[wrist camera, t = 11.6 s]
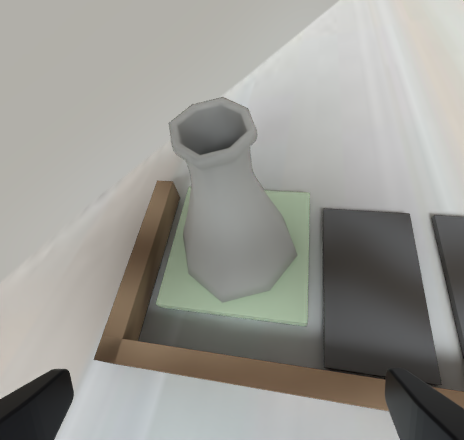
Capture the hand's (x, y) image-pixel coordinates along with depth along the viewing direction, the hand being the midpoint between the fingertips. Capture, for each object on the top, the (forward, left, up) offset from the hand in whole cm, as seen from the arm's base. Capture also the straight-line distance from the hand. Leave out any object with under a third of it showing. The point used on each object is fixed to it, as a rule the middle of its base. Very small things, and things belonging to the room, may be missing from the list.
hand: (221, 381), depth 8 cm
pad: (+8, +1, -9) cm, 12 cm away
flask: (+8, +1, -8) cm, 11 cm away
